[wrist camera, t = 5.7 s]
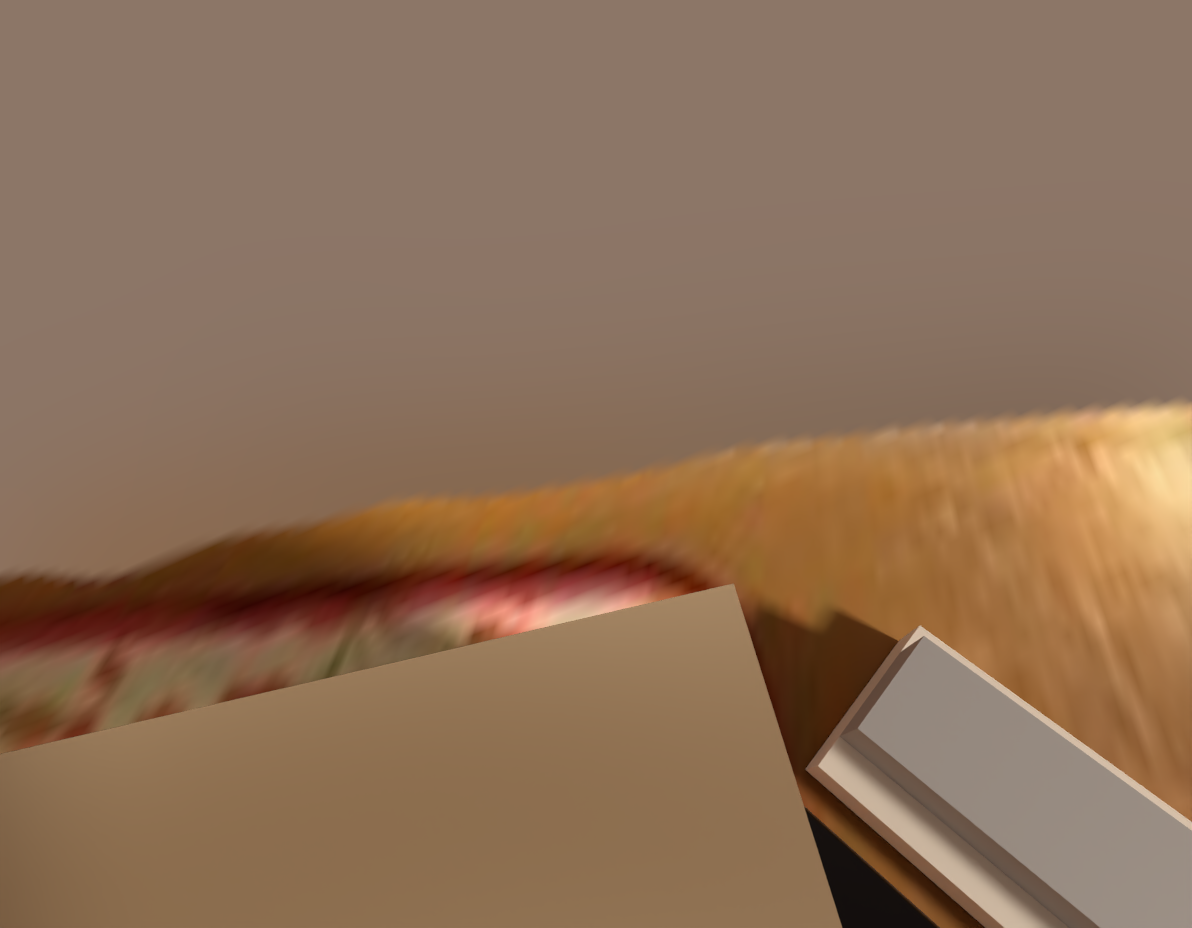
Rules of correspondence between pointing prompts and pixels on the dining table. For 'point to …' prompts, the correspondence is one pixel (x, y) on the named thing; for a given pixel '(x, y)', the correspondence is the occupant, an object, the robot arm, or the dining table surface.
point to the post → (439, 795)
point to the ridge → (1003, 801)
